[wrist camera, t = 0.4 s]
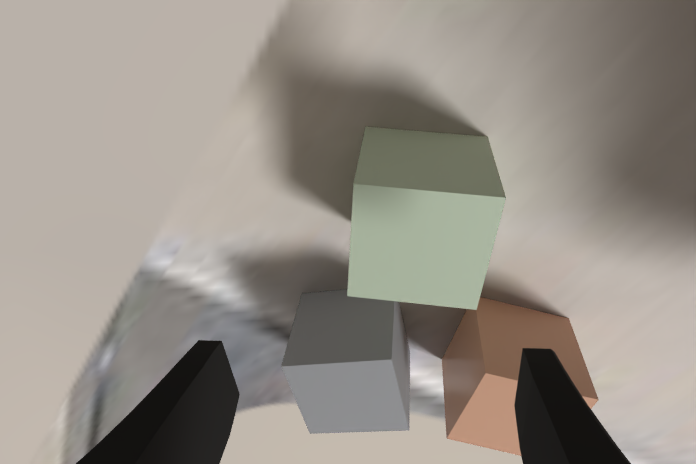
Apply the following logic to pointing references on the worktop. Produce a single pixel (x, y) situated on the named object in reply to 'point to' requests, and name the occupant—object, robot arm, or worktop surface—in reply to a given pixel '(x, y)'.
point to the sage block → (423, 217)
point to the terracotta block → (501, 370)
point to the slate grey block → (349, 363)
